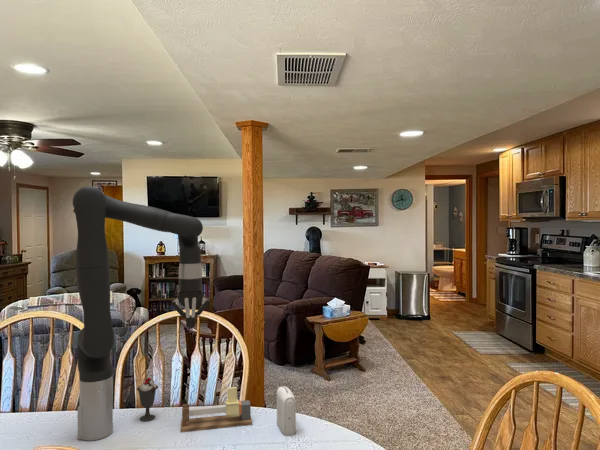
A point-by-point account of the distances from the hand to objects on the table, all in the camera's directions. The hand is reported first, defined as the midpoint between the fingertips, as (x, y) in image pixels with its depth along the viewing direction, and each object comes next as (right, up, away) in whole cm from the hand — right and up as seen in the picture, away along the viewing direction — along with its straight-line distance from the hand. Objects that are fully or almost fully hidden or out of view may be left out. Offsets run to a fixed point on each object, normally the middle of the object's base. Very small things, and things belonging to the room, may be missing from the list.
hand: (190, 328), depth 149 cm
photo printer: (+32, -29, -10) cm, 45 cm away
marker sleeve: (+15, -26, -6) cm, 31 cm away
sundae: (-14, -29, -2) cm, 32 cm away
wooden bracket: (+10, -29, -7) cm, 31 cm away
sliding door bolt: (+10, -28, -7) cm, 30 cm away
